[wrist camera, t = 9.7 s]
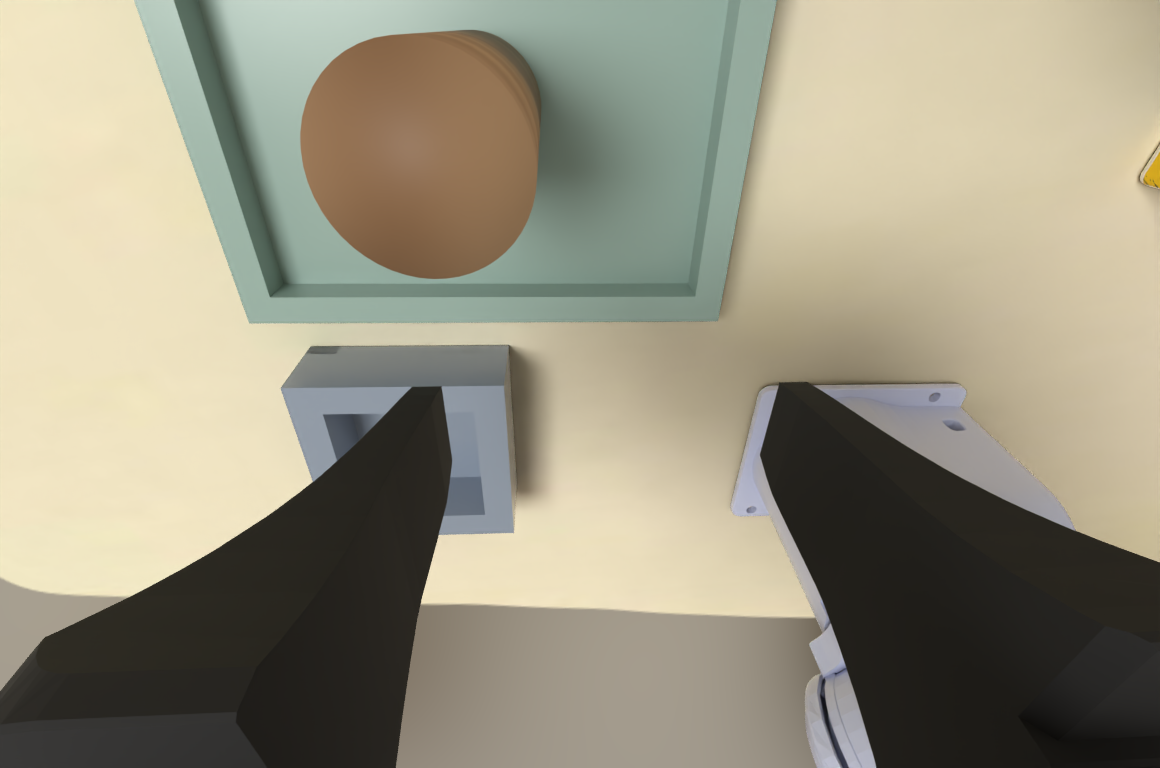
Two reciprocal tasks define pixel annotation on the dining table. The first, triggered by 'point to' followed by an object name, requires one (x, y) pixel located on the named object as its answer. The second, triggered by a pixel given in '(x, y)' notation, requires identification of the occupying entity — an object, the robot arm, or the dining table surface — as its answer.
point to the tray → (565, 161)
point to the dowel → (425, 149)
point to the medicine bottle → (1152, 171)
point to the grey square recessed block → (379, 379)
